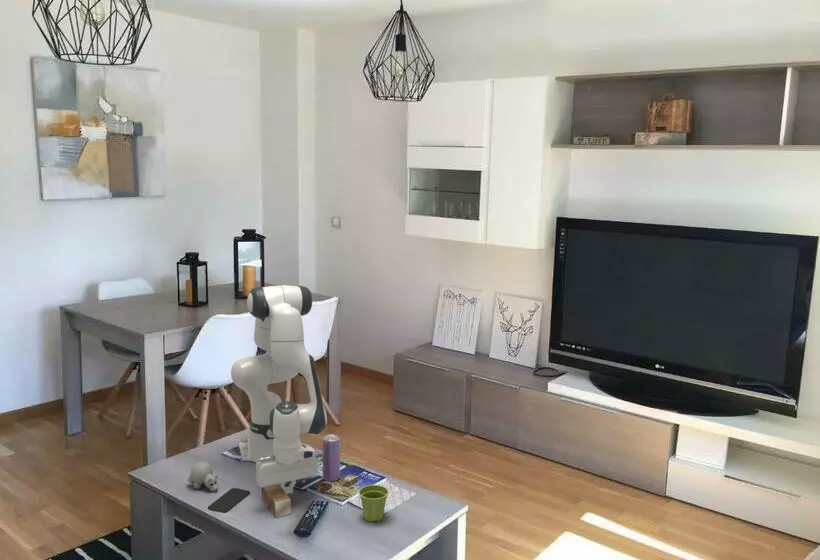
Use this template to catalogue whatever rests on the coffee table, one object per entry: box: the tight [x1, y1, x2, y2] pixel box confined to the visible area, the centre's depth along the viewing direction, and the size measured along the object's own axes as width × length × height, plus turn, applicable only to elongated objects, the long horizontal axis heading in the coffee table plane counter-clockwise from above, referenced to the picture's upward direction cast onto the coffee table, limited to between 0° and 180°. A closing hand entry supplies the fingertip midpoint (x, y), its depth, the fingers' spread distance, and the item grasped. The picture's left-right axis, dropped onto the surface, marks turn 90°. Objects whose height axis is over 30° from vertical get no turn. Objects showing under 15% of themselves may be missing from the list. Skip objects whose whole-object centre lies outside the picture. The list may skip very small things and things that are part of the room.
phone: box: [207, 487, 251, 514], centre depth 232 cm, size 7×1×15 cm
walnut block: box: [260, 484, 292, 518], centre depth 229 cm, size 5×5×14 cm
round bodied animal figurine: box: [187, 461, 219, 492], centre depth 240 cm, size 7×12×8 cm, turn 53°
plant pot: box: [358, 484, 390, 523], centre depth 223 cm, size 9×9×9 cm
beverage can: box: [322, 434, 341, 482], centre depth 249 cm, size 6×6×15 cm
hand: (287, 493), depth 231 cm, fingers closed
